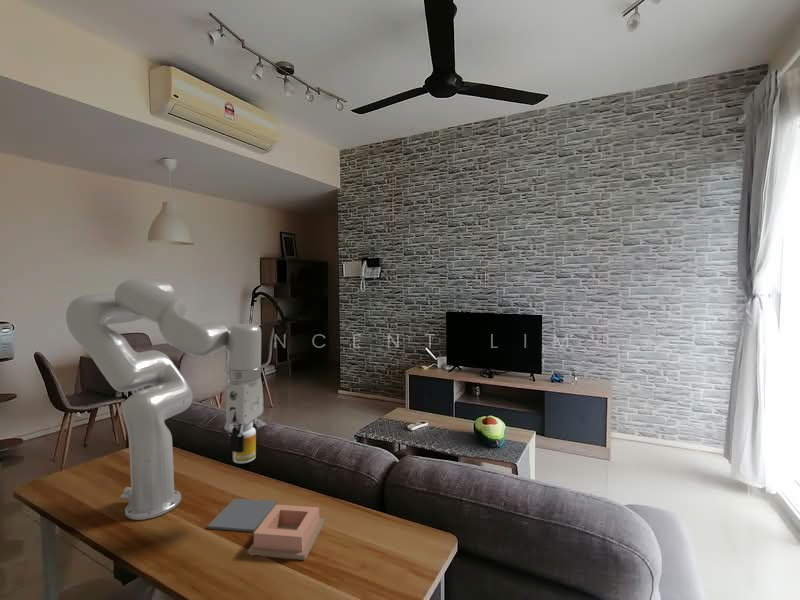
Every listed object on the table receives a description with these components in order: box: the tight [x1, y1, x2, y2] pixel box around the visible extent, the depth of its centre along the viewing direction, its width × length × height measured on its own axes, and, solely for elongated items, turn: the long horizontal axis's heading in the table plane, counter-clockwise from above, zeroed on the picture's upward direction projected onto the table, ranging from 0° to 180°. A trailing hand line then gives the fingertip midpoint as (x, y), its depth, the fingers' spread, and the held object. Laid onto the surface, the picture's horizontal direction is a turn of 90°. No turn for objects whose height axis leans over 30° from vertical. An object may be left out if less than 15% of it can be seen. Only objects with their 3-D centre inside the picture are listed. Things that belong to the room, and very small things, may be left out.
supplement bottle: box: [232, 420, 257, 464], centre depth 97 cm, size 5×5×10 cm
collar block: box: [247, 504, 326, 561], centre depth 90 cm, size 13×13×4 cm
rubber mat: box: [206, 498, 278, 533], centre depth 99 cm, size 12×12×1 cm
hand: (244, 445), depth 97 cm, fingers closed on supplement bottle, 5 cm apart
